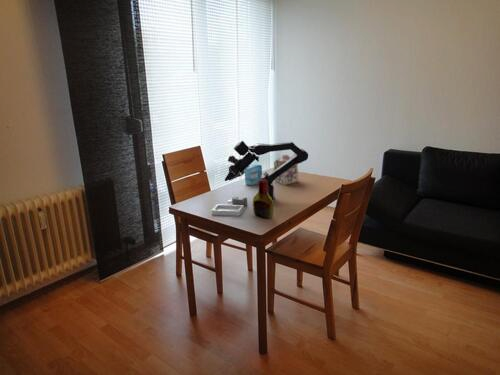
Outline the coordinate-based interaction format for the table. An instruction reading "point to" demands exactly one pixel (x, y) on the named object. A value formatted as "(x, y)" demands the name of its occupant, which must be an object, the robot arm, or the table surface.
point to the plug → (238, 201)
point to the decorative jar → (290, 174)
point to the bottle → (263, 201)
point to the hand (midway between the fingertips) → (226, 180)
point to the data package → (253, 174)
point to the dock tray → (228, 209)
